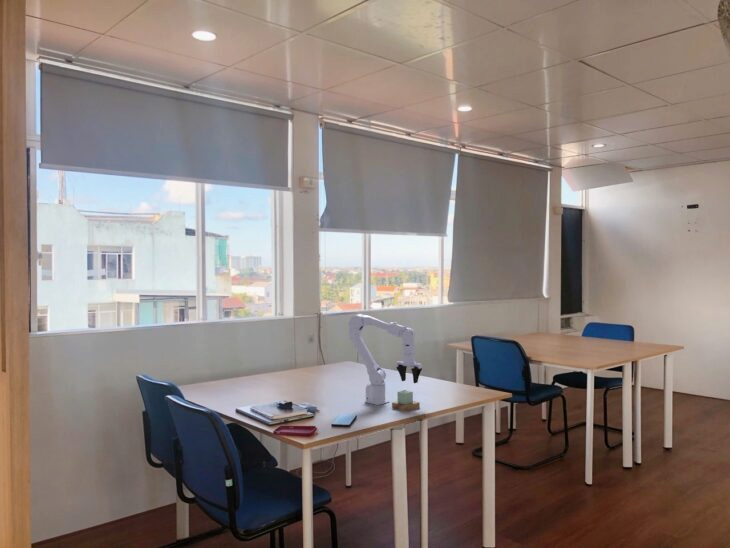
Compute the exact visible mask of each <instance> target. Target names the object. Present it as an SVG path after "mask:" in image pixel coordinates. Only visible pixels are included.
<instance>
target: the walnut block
mask: <svg viewBox="0 0 730 548" xmlns="http://www.w3.org/2000/svg"><path fill="white" fill-rule="evenodd" d="M391 409H394V410H398V411H402V412H406V413H407V412H410V411H413V410H414V411H415V410H417V409H420V402H419V401H415V400H413V403H409V404H402V403H398V400H396V401H393V402H391Z"/></svg>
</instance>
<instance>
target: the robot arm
mask: <svg viewBox="0 0 730 548" xmlns="http://www.w3.org/2000/svg"><path fill="white" fill-rule="evenodd" d="M347 324H348V337H349V339H350V340H351V341H350V342H352V344H353V347H354V348H355V350H356V351H357V353H358V355H359V357H360V358H361V361H362V362H363V363H364V365H365V367H366V371H367V375H368V377H369V378H368V380H369V383H368V384H366V387H365V400H364V403H368V404H372V405H375V406H380V405H385V404H387V403H390V401H389V400H386V382H385V380H386V377H387V374H386V372H385V370H384V369H382V368H381V366H380V365H379V364H378V363H377V361H375V358H374V357H373V354H372V353H371V351H370V350H369V348H368V346H367V345H366V343H365V341H364V339H363V337H362V335H361V333H362V331H363V328H364V327H366V326H373V327H376V328H380V329H382V330H385V331H386V333H387V334H389V335H391V336H394V337H396V338H399V339H400V338H401V340H402V360H397V361H396V370H397V371H398V374H399V376H400V379H401V382H405V381H406V380H407V375H406V374H407V369H408V367H409V368H410V370H411V374H412V379H413V384H418V381H419V377H420V375H421V372H422V370H423V363H419V362H416V358H415V357H416V351H415V347H416V346H415V335H416V332H415V330H414V329H413V328H412V327H407V326H406V325H400V324H398V322H397V321H393V322H389V323H388V322H385V321H383V320H381V319H378V318H376V317H373V316H370V315H367V314H363V313H357V314H356V315H352V316H351V317H350V319H349V321H348V323H347Z"/></svg>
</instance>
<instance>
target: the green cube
mask: <svg viewBox="0 0 730 548" xmlns="http://www.w3.org/2000/svg"><path fill="white" fill-rule="evenodd" d="M396 392H397V401H398V403H402V404H409V403H413V401H414V397H413V396H414V392H413V391H412V390H406V389H404V390H400V391H396Z"/></svg>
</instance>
